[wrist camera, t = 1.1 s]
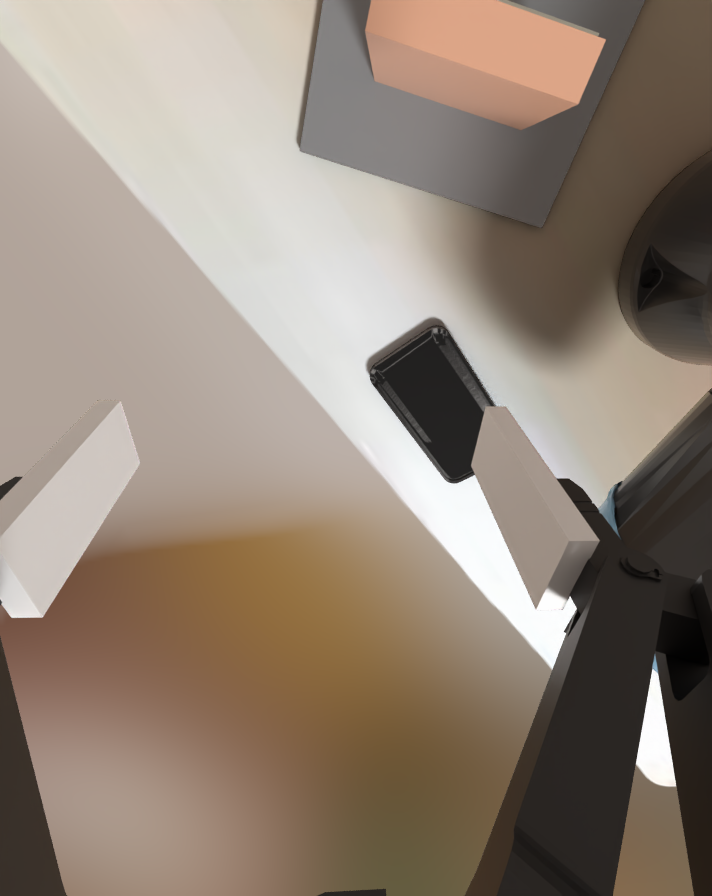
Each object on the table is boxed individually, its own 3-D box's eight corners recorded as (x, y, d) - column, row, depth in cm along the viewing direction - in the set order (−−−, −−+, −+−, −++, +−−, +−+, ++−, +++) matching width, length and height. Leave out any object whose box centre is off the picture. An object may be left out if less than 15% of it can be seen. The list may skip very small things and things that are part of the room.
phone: (441, 322, 34) (522, 451, 40) (440, 318, 35) (519, 445, 41) (363, 374, 37) (449, 487, 43) (364, 369, 38) (448, 481, 44)
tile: (539, 83, 26) (608, 33, 18) (521, 130, 27) (578, 104, 19) (385, 30, 25) (381, -49, 17) (374, 81, 27) (364, 31, 18)
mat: (713, -160, 21) (721, -169, 21) (539, 227, 31) (542, 228, 30) (372, -298, 20) (371, -311, 19) (301, 151, 29) (299, 150, 29)
